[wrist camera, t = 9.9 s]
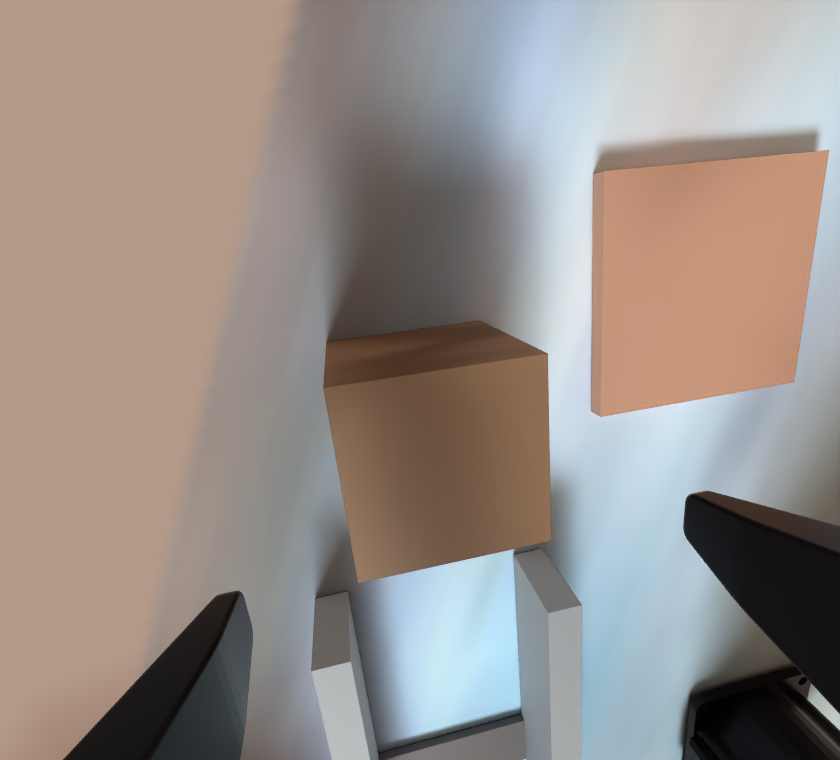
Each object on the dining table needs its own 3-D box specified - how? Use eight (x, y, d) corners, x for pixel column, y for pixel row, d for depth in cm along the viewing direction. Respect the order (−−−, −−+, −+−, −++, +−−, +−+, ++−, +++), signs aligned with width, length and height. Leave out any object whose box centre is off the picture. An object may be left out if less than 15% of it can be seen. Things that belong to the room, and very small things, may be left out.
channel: (542, 548, 18) (581, 605, 15) (547, 744, 21) (581, 821, 18) (314, 598, 16) (311, 671, 14) (358, 799, 20) (362, 891, 17)
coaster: (810, 153, 15) (829, 149, 15) (779, 377, 18) (793, 382, 17) (593, 174, 14) (604, 170, 13) (591, 411, 16) (600, 417, 16)
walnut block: (478, 320, 15) (547, 353, 10) (487, 456, 16) (551, 540, 12) (326, 341, 14) (323, 388, 9) (350, 481, 16) (358, 582, 11)
